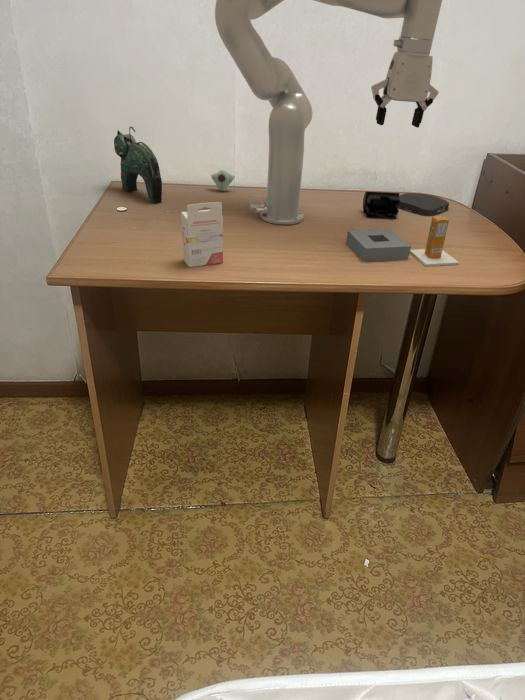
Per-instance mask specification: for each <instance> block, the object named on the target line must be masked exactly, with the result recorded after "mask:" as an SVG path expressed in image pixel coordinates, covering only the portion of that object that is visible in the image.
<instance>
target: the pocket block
mask: <svg viewBox="0 0 525 700" xmlns="http://www.w3.org/2000/svg"><path fill="white" fill-rule="evenodd" d="M345 244H346V245H347V246H348V248H350V249H351V250H352V252H354V253H355V255H356V256H357V257H358V258H359V259H360V260H361V261H362V263H363V262H364V263H365V262H387V261H388V262H389V261H401V260H402V261H404V260H409V256H410V253H409V252H410V250H411V248H412V247H411V245H410V244H409V243H408V242H406V241H405V240H404V239H402V237H400V236H399V235H398V234H397V233H396V232H395V231H393V230H392V229H390V228H383V229H382V228H381V229H379V228H378V229H361V230H360V229H357V230H356V229H355V230H347V234H346V240H345Z"/></svg>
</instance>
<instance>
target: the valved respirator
mask: <svg viewBox="0 0 525 700" xmlns="http://www.w3.org/2000/svg"><path fill="white" fill-rule="evenodd" d="M210 177H211V179H212V181H213V182H214V183H215V185H216V187H217V189H218V190H219V191H222V192H224V191H226V190H227V189H228V188H229V186H230V184H232V182H233V181H234V180H235V179H236V176H235V175H233V174H230V173H228V172H227V171H226V170H224V169H223V170H219V171H218V172H216V173H212V174H210Z"/></svg>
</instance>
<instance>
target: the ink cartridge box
mask: <svg viewBox="0 0 525 700" xmlns="http://www.w3.org/2000/svg"><path fill="white" fill-rule="evenodd" d="M204 208H207V209H204ZM180 213H181V214H180V217H181V218H180V219H181V220H180V221H181V237H182V238H181V239H182V259H183V262H184V263H185V264H186V265H187V266H188V268H194V267H202V266H209V265H216V264H218V265H219V264H223V262H224V254H223V253H224V250H223V249H224V241H223V240H224V224H223V223H224V222H223V221H224V220H223V219H224V217H223V215H222V214H223V204H222V202H221V201H216V202H215V201H214V202H198V203H191V204H186V211H181V212H180Z"/></svg>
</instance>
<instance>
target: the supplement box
mask: <svg viewBox="0 0 525 700" xmlns="http://www.w3.org/2000/svg"><path fill="white" fill-rule="evenodd" d="M449 221H450V219H449V218H447V217H446V216H445V215H434V216H431V222H430V226H429V231H428V236H427V240H426V245H425V248H424V249H425V255H427V256H428V257H429V258H440V257H441V254H442V250H443V251H444V249H443V248H444V245H445V240H446V235H447V231H448V227H449V223H450V222H449Z"/></svg>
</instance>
